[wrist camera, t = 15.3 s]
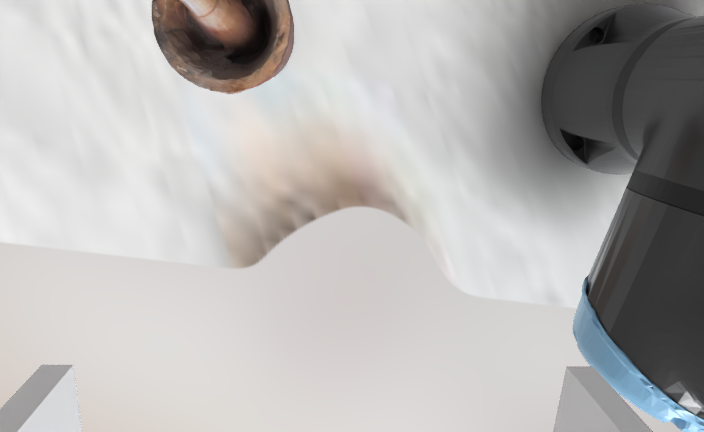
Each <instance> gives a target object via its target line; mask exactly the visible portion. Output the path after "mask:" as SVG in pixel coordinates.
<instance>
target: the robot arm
mask: <svg viewBox="0 0 704 432" xmlns="http://www.w3.org/2000/svg"><path fill="white" fill-rule="evenodd" d="M542 113H543V119H544V123H545V126H546V129H547V132H548V134H549V136H550V138H551V140H552V141H553V143H554V144H555V146H556V147H557V148H558V149H559V151H560V152H561V153H562V154H564V155H565V156H566V157H567V158H568V159H570V160H571V161H573V162H575V163H577V164H578V165H581V166H583V167H586V168H589V169H592V170H594V171H598V172H602V173H607V174H632V176H631V178H630V181H629V183H628V185H627V187H626V190H625V192H624V194H623V197H622V199H621V202H620V204H619V206H618V209H617V211H616V213H615V216H614V218H613V220H612V223H611V225H610V227H609V230H608V232H607V234H606V237H605V239H604V241H603V244H602V246H601V248H600V251H599V253H598V255H597V258H596V260H595V262H594V265H593V267H592V269H591V272H590V274H589V275H588V276H587V277H586V278H585V280H584V282H583V285H582V297H581V299H580V302H579V305H578V308H577V311H576V314H575V316H574V320H573V334H574V336H575V339H576V341H577V346H578V348H579V350H580V352H581V354H582V355H583V357H584V358H585V360H586V361H587V362H588V364H589V365H590V366H591V367H566V372H565V377H564V382H563V386H562V392H561V396H560V401H559V406H558V411H557V416H556V421H555V426H554V431H553V432H653V431H652V430H651V429H650V428H649V427H648V426H647V425H646V424H645V423H644V422H643V420H642V419H641V418H640V417H639V416H638V415H637V414H636V413H635V412H634V411H633V410H632V409H631V407H630V406H629V405H628V404H627V403H626V402H625V401H624V400H623V399H622V398H621V396H623V397H624V398H625V399H627V400H628V401H629V402H631V403H632V404H634V405H635V406H636V407H638V408H639V409H641V410H643V411H644V412H646V413H648V414H649V415H651V416H653V417H654V418H656V419H658V420H660V421H662V422H665V423H666V422H669V421H671V422H672V423H674V424H675V425H676V426H677V427H678V428H679V429H680V430H681V431H684V432H704V16H702V17H695V16H692V15H689V14H686V13H684V12H681V11H678V10H676V9H673V8H670V7H667V6H663V5H657V4H635V5H629V6H624V7H619V8H615V9H611V10H608V11H605V12H603V13H600V14H598V15H596V16H594V17H592V18H591V19H589V20H587V21H586V22H584V23H583V24H582V25H580V26H579V27H578V28H577V29H576V30H574V31H573V32H572V33H571V34H570V35H569V36H568V38H567V39H566V40H565V41H564V42H563V44H562V45H561V46H560V48H559V49H558V51H557V52H556V54H555V56H554V57H553V59H552V61H551V63H550V66H549V68H548V71H547V74H546V77H545V81H544V85H543V91H542ZM617 392H618V393H619V394H620V395H621V396H620V395H619V394H618V393H617ZM0 432H82V426H81V418H80V411H79V404H78V397H77V390H76V383H75V375H74V368H73V365H42V366H40V367H39V369H38V370H37V371H36V372H35V373H34V374H33V375H32V376H31V377H30V378H29V379H28V380H27V381H26V382H25V383H24V384H23V385H22V387H21V388H20V389H19V390H18V391H17V392H16V393H15V394H14V395H13V396H12V397H11V398H10V399H9V400H8V402H6V404H5V405H4V406H3V407H2V408H1V409H0Z"/></svg>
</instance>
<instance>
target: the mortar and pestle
mask: <svg viewBox="0 0 704 432" xmlns="http://www.w3.org/2000/svg"><path fill="white" fill-rule="evenodd" d="M152 21H153V25H154V34H155V37H156V40H157V43H158V45H159V47H160V49H161V51H162V52H163V54H164V56H165V58H166V59H167V61H168V62H169V64H170V65H171V67H173V68H174V69H175V70H176V71H177V72H178V73H179V74H180V75H181V76H183V77H184V78H185V79H187V80H188V81H190V82H192V83H193V84H195V85H197V86H199V87H202V88H205V89H208V90H211V91H217V92H222V93H227V94H233V93H240V92H242V91H244V90H247V89H250V88H254V87H256V86H259V85H261V84H262V83H264V82H266V81H268V80H270V79H271V78H272V77H275V76H276V75H277V74H278V73H279V72H280V71H281V70H282V69H283V68H284V67H285V65H286V63H287V62H288V60H289V57H290V55H291V53H292V49H293V43H294V23H293V16H292V13H291V9H290V5H289V1H288V0H153V1H152Z"/></svg>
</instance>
